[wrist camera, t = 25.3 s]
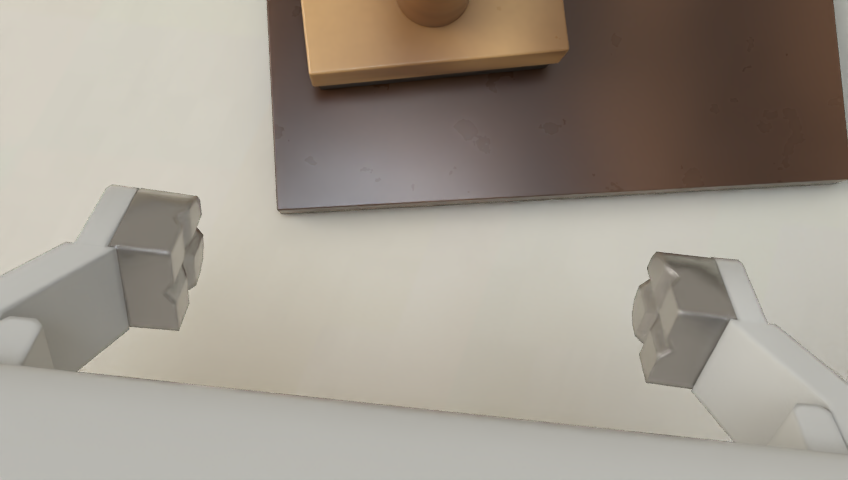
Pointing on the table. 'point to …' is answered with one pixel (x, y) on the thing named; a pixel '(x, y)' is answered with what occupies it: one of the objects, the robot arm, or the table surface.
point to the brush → (428, 39)
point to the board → (576, 112)
